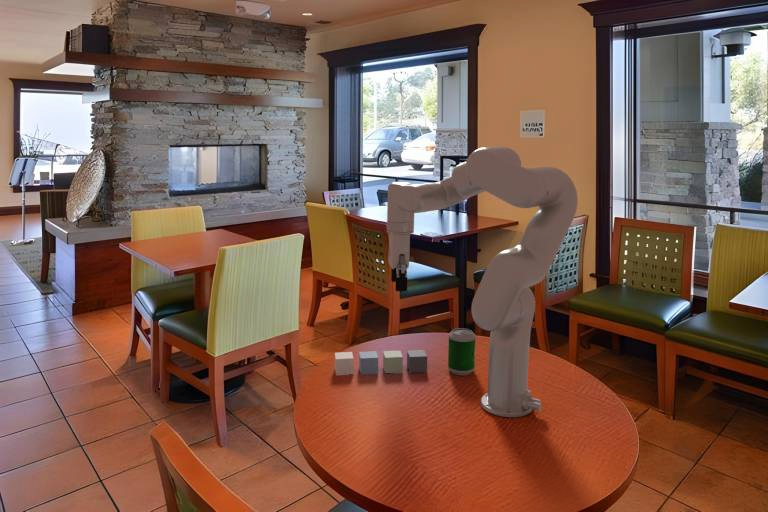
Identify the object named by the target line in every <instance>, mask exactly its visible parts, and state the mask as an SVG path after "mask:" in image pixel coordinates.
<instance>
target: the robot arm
mask: <svg viewBox="0 0 768 512" xmlns="http://www.w3.org/2000/svg"><path fill="white" fill-rule="evenodd" d="M484 192H487V193H489V194H490V195H492V196H494V197H496V198H497V199H500V200H502V201H503V202H506V203H507V204H509V206H510V205H511V206H513V207H516V208H520V209H531V208H537V207H538V208H537V209H536V210H537V211H536V212H535V213H534V215H533V216H532V217H531V219H529V221H528V224H527V225H526V227H525V230H524V231H523V234H522V236H521V238H520V240H519V242H518V243H517V245H515V246H514V247H512V248H511V247H510V248H506V249H504V250H502V251H499V253H497V254H496V255H495V256H494V257H493V258H491V260H490V261H489V263H488V265H487V267H486V269H485V271H484V274H483V275H482V279H481V281H480V282H479V285H478V287H477V289H476V291H475V294H474V297H473V298H472V301H471V309H470V310H471V316H472V319H473V321H474V323H475V324H476V325H477V326H478V327H479V328H480V329H481V330H484V331H487V332H490V333H489V334H490V336H489V345H488V346H489V349H488V374H487V375H488V376H487V377H488V378H487V393H485V394H484V395H482V397H481V398H480V405H481V407H482V409H484V410H485V411H486V412H488V413H490V414H492V415H495V416H498V417H503V418H520V417H525V416H527V415H529V414H530V413H531V412H532V411H536V412H541V411H542V409H543V404H542V400H541V399H539V398H535V397H532V395H531V394H532V393H531V391H532V390H530V389H528V378H529V377H528V375H529V359H530V343H531V334H532V333H531V331H532V325H533V320H534V316H535V311H536V298H535V295H534V293H533V291H532V289H531V287H533V286H535V285H538V284H540V283H541V282H542V281H543V280H544V279H545V277H546V276H547V274H548V272H549V270H550V268H551V266H552V264H553V263H554V260H555V258H556V256H557V254H558V252H559V249H560V248H561V245H562V244H563V241H564V238H565V237H566V235H567V233H568V231H569V230H570V228H571V225H572V223H573V221H574V220H575V215H576V213H577V209H578V198H579V197H578V192H577V188H576V186H575V184H574V181H573V180H572V178H571V177H570V176H569V175H568V173H566V172H565V171H563V170H562V169H560V168H557V167H553V166H538V167H529V168H528V167H527V168H526V167H523V166H522V160H521V157H520V155H519V154H518V152H516V151H515V150H513V149H512V148H509V147H507V146H505V147H504V146H495V147H494V146H491V147H490V146H489V147H488V146H486V147H480V148H478V149H475V150H474V151H473V152H471V154H469V155H468V158H466V161H464V162H462V163H460V164H457V165H455V166H454V167H453V168H452V172H451V176H449V177H447V178H445V179H442V180H440V181H436V182H429V183H428V182H427V183H419V184H413V183H411V182H408V181H407V182H406V181H395V182H390V183H389V184H388V185H387V203H386V204H387V209H386V210H387V211H386V216H387V217H386V233H388V234H389V239H388V257H387V258H388V262H387V263H388V265H389V267H390V269H391V282H392V283H395V287H394V288H395V291H396V292H407V291H408V269H409V268H410V251H411V250H410V247H411V245H410V244H411V241H410V239H411V234H414V233H415V214H420V213H422V214H423V213H427V212H433V211H440V210H443V209H447V208H449V207H452V206H455V205H457V204H460V203H462V202H465V201H466V200H468V199H470V198H472V197H474V196H476V195H479V194H482V193H484Z"/></svg>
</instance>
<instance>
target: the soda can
mask: <svg viewBox="0 0 768 512" xmlns="http://www.w3.org/2000/svg"><path fill="white" fill-rule="evenodd" d="M476 338H477V337H476V334H475V333H474V332H473V331H472V330H471V329H469V328H463V327H461V328H459V327H458V328H453V329H452V330H451V331H450V332H449V333H448V350H447V351H448V355H447V357H448V359H447V362H448V363H447V367H448V369H449V371H450V372H451V373H452V374H453V375H456V376H468V375H470V374H472V372H474V370H475V366H476V365H475V364H476V361H475V360H476Z"/></svg>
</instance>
